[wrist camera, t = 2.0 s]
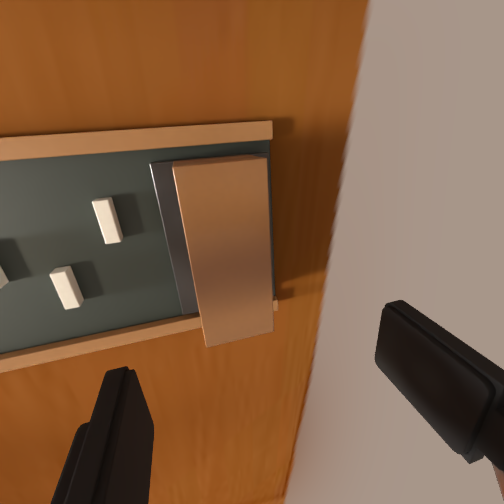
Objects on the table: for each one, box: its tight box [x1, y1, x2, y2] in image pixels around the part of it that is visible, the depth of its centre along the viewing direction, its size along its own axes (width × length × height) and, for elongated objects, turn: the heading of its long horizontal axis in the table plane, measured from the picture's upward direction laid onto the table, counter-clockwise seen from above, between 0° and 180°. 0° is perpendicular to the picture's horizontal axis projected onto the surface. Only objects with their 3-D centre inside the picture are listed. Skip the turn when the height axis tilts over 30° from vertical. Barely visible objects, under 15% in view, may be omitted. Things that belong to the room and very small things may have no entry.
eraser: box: [150, 152, 274, 348], centre depth 18 cm, size 12×8×6 cm, turn 5°
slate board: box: [0, 120, 278, 373], centre depth 19 cm, size 16×26×1 cm, turn 95°
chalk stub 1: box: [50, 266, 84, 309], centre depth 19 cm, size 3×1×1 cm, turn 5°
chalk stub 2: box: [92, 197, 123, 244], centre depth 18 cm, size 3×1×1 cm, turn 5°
